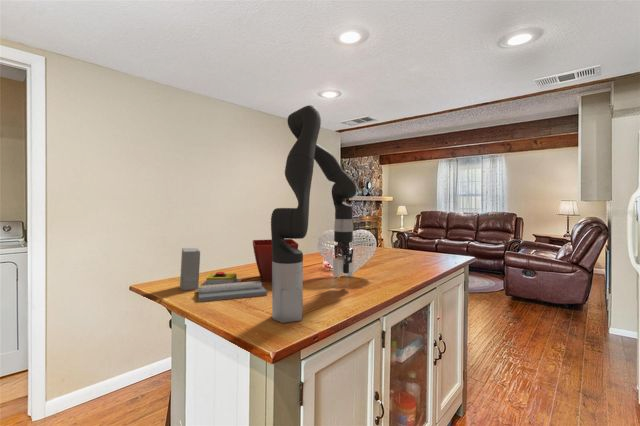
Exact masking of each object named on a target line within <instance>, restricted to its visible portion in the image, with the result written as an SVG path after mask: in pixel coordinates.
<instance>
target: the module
mask: <svg viewBox="0 0 640 426" xmlns="http://www.w3.org/2000/svg"><path fill="white" fill-rule="evenodd" d="M349 259H350V258H349ZM332 260H333V263H332V264H333V266H332V275H333V276H334V277H336V278H338V279H339V278H340V277H341V274H340V272H343V259H342V258H335V257H334V258H333V259H332ZM353 260H354V259H352V263H350V264H349V273H345V274H347V275H349V276H348V277H354V273H353V267H354V266H353V265H354V264H353ZM354 261H355V260H354Z"/></svg>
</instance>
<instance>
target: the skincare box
mask: <svg viewBox="0 0 640 426" xmlns="http://www.w3.org/2000/svg"><path fill="white" fill-rule="evenodd" d="M200 262H201V251H200V249H199V248H198V247H181V260H180V281H179V287H180V289H181V291H194V290H198V288H200V287H199V285H200V284H199V283H200V267H201V266H200V264H201V263H200Z"/></svg>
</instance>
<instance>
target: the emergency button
mask: <svg viewBox="0 0 640 426" xmlns="http://www.w3.org/2000/svg"><path fill="white" fill-rule="evenodd" d="M241 281H242V278H238V277H237V273H234V272H233V273H231V272H230V273H227V272H226V273H225V272H224V271H219V272H218V271H217V272H215V273H211V274H209V275H208V276H207V277H206V280H205V281H204V282H203V283H202V285H215V284H227V283H240V282H241Z"/></svg>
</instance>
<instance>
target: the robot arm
mask: <svg viewBox="0 0 640 426" xmlns="http://www.w3.org/2000/svg"><path fill="white" fill-rule="evenodd" d="M286 122H287V125H288V128H289V130H290V131H291V133H292V135H293V136H294V137H295V138H296V141H295V142H294V144H293V146H292V147H291V149H290V150H289V152H288V154H287V157H286V162H285V167H284V168H285V169H284V176H285V180H286V182H287V183H288V185H289V187H290V188H291V190H292V191H293V193H294V195H295V197H296V200H297V207H277V208H274V210H272V213H271V215H270V230H271V231H270V233H271V240H272V281H271V284H272V285H271V286H272V289H271V290H272V291H271V292H272V293H271V294H272V296H271V297H272V299H271V305H272V306H271V307H272V308H271V310H272V312H271V314H272V315H271V317H272V319H273V320H274V321H276V322H280V324H281V323H282V324H283V323H291V322H292V323H293V322H300V321H302V318H303V315H304V314H303V309H304V305H303V303H304V302H303V301H304V300H303V297H304V296H303V288H304V287H303V283H304V282H303V281H304V278H303V277H304V276H303V275H304V253H303V251H302V250H300V249H299V248H298V249H295V248H293V247H291V246H289V245H288V244H287V243H286V242H285V239H292V240H293V239H295V240H297V239H298V240H300V239H304V238H305V237H306V236H307V233H308V230H309V229H308V227H309V217H310V195H311V186H312V180H313V174H314V165H315V162H316V164H317V165H318V166H319V168H320V170H321V172H322V173H323V174H324V176H325V178H326V179H327V180H328V181H329V182H333V185H332V187H331V196H332V197H331V198H332V203H333V206H334V210H335V211H334V212H335V213H334V225H333V226H334V227H333V230H334V235H333V237H334V241H335V242H334V243H336V242H338V243H337V245H333V248H334V249H333V250H334V251H335V256H334V258H342V259H343V273H345V274H346V273H349V264H350V263H352V258H353V248H352V247H351V248H350V245H349V243H350V242H351V243H353V242H352V241H354V240H353V239H354V237H353V231H354V224H353V223H354V222H353V207H352V205H350V204H348V203H347V200H346V199H351V198H354V197H355V196H356V195H357V186H356V184H355V182H354V180H353V179H352V178H351V177H350V176H349V175H348V174H347V172H346V171H344V170H343V168H342V167H341V165H340V163H339V161H338V159H337V158H336V157H335V156H334V154H332V152H330V151H329V150H328V149H326V148H324V147H323V146H321V145H320V144H318V143H317V141H318V138H319V134H320V129H321V122H322V120H321V115H320V111H319V110H318V108H317V107H315V106H314V105H305V106H303V107H301V108H299V109H297V110H296V111H293V112H292V113H290V114H289V115H288V116H287V121H286ZM345 255H346V256H345ZM349 258H350V259H349Z"/></svg>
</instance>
